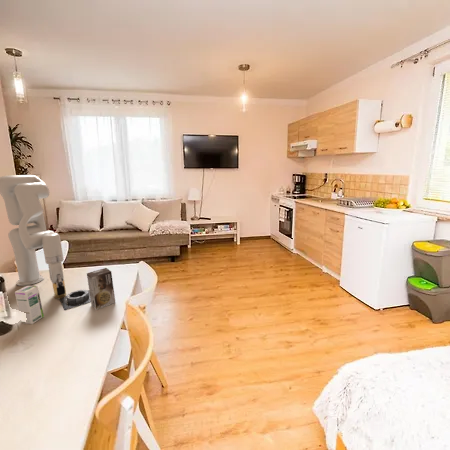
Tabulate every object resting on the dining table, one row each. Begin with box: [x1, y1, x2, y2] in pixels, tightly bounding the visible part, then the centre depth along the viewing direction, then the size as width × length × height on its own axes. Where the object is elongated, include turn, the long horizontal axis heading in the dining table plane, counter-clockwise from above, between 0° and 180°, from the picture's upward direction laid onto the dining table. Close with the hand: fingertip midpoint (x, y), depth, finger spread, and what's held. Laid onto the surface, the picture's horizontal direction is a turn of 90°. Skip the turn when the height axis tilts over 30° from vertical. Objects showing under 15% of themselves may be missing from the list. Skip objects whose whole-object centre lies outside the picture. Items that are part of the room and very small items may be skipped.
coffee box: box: [86, 267, 116, 311], centre depth 125 cm, size 9×6×16 cm
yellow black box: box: [51, 280, 67, 300], centre depth 135 cm, size 5×5×8 cm
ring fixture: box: [59, 289, 91, 311], centre depth 132 cm, size 14×14×3 cm
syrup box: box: [14, 285, 45, 325], centre depth 113 cm, size 6×6×14 cm
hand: (59, 290), depth 135 cm, fingers open, 9 cm apart
